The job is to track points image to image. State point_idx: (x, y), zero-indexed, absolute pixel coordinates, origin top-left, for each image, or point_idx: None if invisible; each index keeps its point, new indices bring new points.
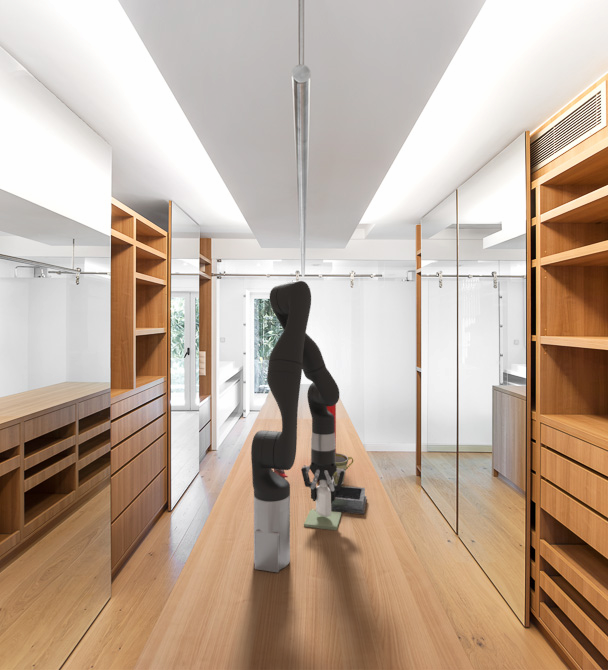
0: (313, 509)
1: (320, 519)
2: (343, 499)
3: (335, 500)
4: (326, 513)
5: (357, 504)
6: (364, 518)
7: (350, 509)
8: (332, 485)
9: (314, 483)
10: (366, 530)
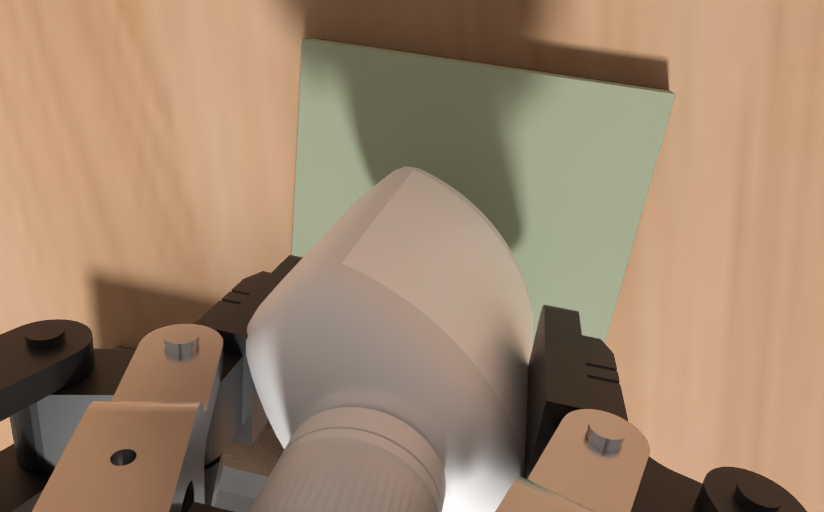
0: None
1: (481, 206)
2: (234, 468)
3: None
4: (396, 175)
5: None
6: (102, 281)
7: None
8: (134, 387)
9: (561, 493)
10: (53, 69)
